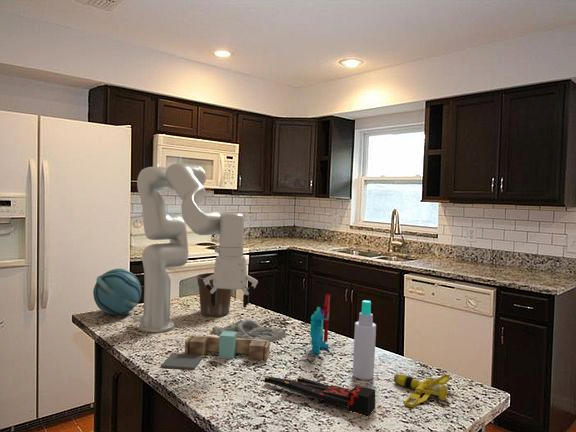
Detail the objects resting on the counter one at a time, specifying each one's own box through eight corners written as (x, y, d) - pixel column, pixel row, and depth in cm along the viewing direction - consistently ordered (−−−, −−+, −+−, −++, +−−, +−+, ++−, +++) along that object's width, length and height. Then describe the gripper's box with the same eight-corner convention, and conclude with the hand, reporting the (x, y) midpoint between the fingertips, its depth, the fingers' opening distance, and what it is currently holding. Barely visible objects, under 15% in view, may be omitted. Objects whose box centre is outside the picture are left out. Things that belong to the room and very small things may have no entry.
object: (188, 311, 191) (189, 274, 190) (219, 306, 202) (220, 271, 201) (208, 320, 179) (210, 280, 179) (241, 314, 190) (242, 276, 190)
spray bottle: (348, 373, 131) (352, 299, 130) (365, 370, 134) (369, 298, 133) (360, 381, 126) (363, 304, 125) (377, 378, 128) (381, 303, 127)
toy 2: (324, 326, 136) (330, 289, 147) (305, 324, 137) (312, 288, 149) (326, 361, 148) (331, 324, 159) (309, 359, 149) (315, 322, 160)
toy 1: (149, 282, 196) (111, 256, 189) (154, 292, 178) (113, 264, 171) (121, 317, 192) (82, 292, 186) (124, 330, 175) (81, 303, 168)
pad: (160, 367, 130) (160, 365, 130) (172, 355, 140) (172, 353, 140) (194, 369, 129) (194, 367, 129) (203, 357, 139) (203, 355, 139)
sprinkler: (408, 360, 132) (459, 373, 122) (409, 372, 132) (459, 387, 122) (374, 387, 118) (428, 406, 108) (374, 402, 118) (428, 421, 108)
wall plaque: (289, 337, 164) (289, 326, 164) (253, 349, 150) (253, 338, 149) (244, 323, 179) (244, 313, 179) (207, 333, 164) (207, 323, 164)
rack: (184, 355, 140) (185, 341, 140) (190, 348, 146) (191, 335, 146) (266, 361, 138) (267, 347, 138) (269, 353, 144) (269, 340, 144)
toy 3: (260, 393, 120) (366, 419, 105) (260, 375, 120) (366, 398, 105) (277, 382, 127) (378, 406, 112) (277, 365, 127) (378, 386, 112)
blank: (218, 357, 140) (219, 335, 139) (222, 352, 144) (222, 331, 144) (232, 358, 139) (233, 336, 139) (235, 353, 144) (236, 332, 143)
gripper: (201, 252, 137) (199, 307, 138) (256, 254, 136) (255, 310, 136) (207, 249, 145) (206, 302, 145) (260, 251, 143) (258, 304, 144)
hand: (229, 306), depth 141 cm, fingers open, 9 cm apart
